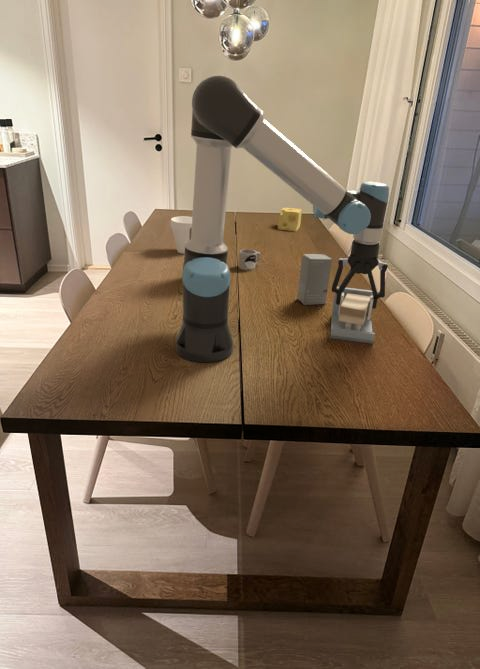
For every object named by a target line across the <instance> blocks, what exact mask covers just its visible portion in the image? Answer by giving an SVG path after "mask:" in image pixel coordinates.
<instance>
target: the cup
mask: <svg viewBox="0 0 480 669" xmlns="http://www.w3.org/2000/svg"><path fill="white" fill-rule="evenodd" d="M191 227H192V216H188V215H187V216H185V215H184V216H182V215H181V216H174V217H171V218H170V228H171V230H172V234H173V238H174V243H175V247H176V248H175V249H176V250H177V251H176V252H177V253H179V254H183V255H184V254H185V244H186V243H187V242H188V241H189V239H190V228H191Z"/></svg>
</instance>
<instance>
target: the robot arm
mask: <svg viewBox="0 0 480 669" xmlns="http://www.w3.org/2000/svg"><path fill="white" fill-rule="evenodd" d="M191 98H192V99H191V108H192V110H191V111H192V113H191V126H190V128H191V132H190V137H191V138H192V140H193V141H194V143H195V144H196V153H195V168H194V169H195V170H194V183H193V186H194V187H193V202H192V216H191V217H192V231H191V239H190V240H189V241H188V242H187V243H186V244H185V254H183V256H184V257H183V264H182V275H181V279H182V280H181V281H182V323H181V325H180V328H179V332H178V334H177V337H176V339H175V340H176V341H175V351H176V353H177V354H178V355H179V356H180V357H181V358H183V359H186V360H188V361H190V362H191V361H192V362H197V363H214V362H220V361H222V360H225V359H227V358H228V357H230V356H231V355H232V354H233V351H234V341H233V336H232V334H231V333H232V332H231V330H230V326H229V322H228V320H229V319H228V317H229V304H230V303H229V298H230V297H229V296H230V284H231V274H230V273H231V270H230V267H229V265H228V264H227V262H228V251H229V250H228V249H229V248H228V246H227V245H226V244H225V243H224V235H225V234H224V232H225V224H226V223H225V222H226V210H227V200H228V188H229V176H230V166H231V156H232V148H233V147H234V148H235V149H244V150H245V151H246V152H247V153H248V154H250V155H251V156H252V157H253V158H255V159H256V160H257V161H258V162H260V163H261V164H262V165H263V166H265V167H266V169H268V170H269V171H270V172H272V173H273V174H274V175H275V176H277V177H278V178H279V179H280V180H281V181H283V182H284V183H285V184H286V185H288V186H289V187H290V188H291V189H292V190H294V191H295V192H297V193H298V195H299V196H301V197H303V199H305V200H306V201H307V202H308V203H309V204H311V205H312V212H313V215H314V217H315V218H317V219H323V220H330V221H331V222H333V223H334V225H336V226H338V227H339V229H340V231H343V232H344V233H346V234H348V235H353V236H352V238H353V240H351V246H350V254H349V256H348V257H345V258H343V257H338V261H337V262H338V265H337V269H336V273H335V275H334V279H333V282H332V285H331V292H332V293H334V294H335V293H336V294H337V298H336V304H337V305H339V311H338V316H339V313H340V306H341V304H342V303H343V298H344V293H343V291H344V289H345V288H347V286H348V285H349V283H350V282H351V280H352V278H353V277H354V276H355V274H358V275H359V274H362V275H367V278H368V281H369V285H370V289H371V291H372V293H373V296H370V301H369V306H368V312H367V320H370V316H371V311H372V309H373V310H374V309H376V308H377V305H378V299H381V298H385V296H386V271H387V269H388V263H387V262H386V261H384V262H382V261H380V260H379V259H378V257H379V251H380V245H381V244H380V242H381V240H382V237H383V236H382V235H383V229H384V222H385V217H386V212H387V207H388V204H389V194H390V186H389V185H387V184H386V183H383V182H376V181H363V182H362V183H361V185H360V187H359V189H356V190H355V189H354V190H353V189H346V188H345V187H344V186H342V184H340V183H339V182H338V181H337V180H336V179H334V178H333V177H332V176H331V175H330V174H329V173H328V172H327V171H325V170H324V169H323V168H322V167H321V166H319V165H318V164H317V163H316V162H315V161H313V159H312V158H310V157H309V156H308V155H307V154H306V153H304V152H303V151H302V150H301V149H300V148H298V147H297V146H296V145H295V144H294V143H293V142H292V141H290V139H288V138H287V137H286V136H285V135H283V134H282V133H281V131H279V130H278V129H276V128H275V127H274V126H273V125H272V124H271V123H270V122H268V121H267V120H266V119H265V117H264V111H263V110H262V109H261V108H260V107H259V106H258V105H256V103H255V102H253V101H252V100H251V98H250V97H249V96H248V95H247V94H246V93H245V92H244V91H243V89H242V88H241V87H240V86H239V84H238V83H236V82H235V81H234V80H233V79H232V78H230V77H227V76H224V75H215V76H214V75H213V76H210V77H207V78H205V79H203V80H202V81H201V82H200V83H199V84H198V85H197V86H196V88H195V89H194V92H193V94H192V97H191ZM347 263H348V265H349V266H350V269H349V271H348V273H347V274H346V276H345V277H344V279H343V281H342V282H341V284H340V285H339V282H340V280H341V276H342V273H343V270H344V267H346V265H347ZM377 266H378V270H379V281H380V282H379V291H378V290H377V287H376V283H375V279H374V275H373V270H375V269H376V267H377ZM337 287H339V288H337ZM372 312H373V311H372ZM371 317H372V316H371Z"/></svg>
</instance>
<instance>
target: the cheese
mask: <svg viewBox="0 0 480 669" xmlns="http://www.w3.org/2000/svg"><path fill="white" fill-rule="evenodd" d="M302 212H303V210H302V209H301V208H293V207H282V208H281V210H280V214H279V216H278V223H277V230H280V231H282V230H283V231H289V232H295V233H296V232H297V231H298V230H299V229H300V228H301V227H300V226H301V221H302Z"/></svg>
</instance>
